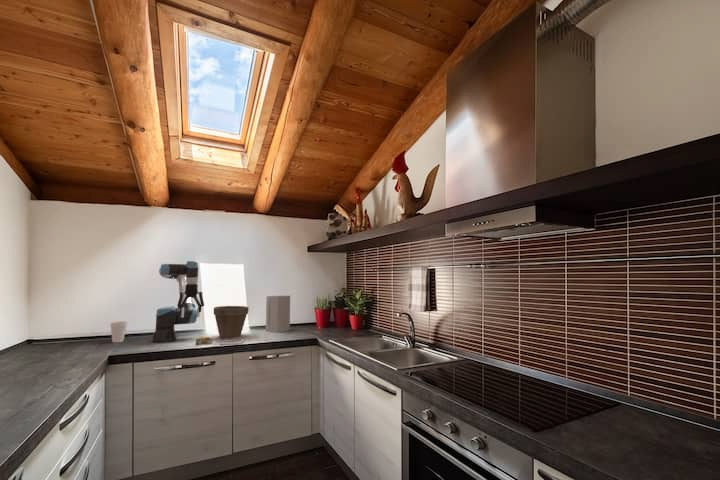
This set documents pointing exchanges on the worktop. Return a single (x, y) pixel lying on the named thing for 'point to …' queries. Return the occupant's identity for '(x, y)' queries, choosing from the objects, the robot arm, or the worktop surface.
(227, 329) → the plant pot
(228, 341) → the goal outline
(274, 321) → the grey faceted cylinder
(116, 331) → the foam cup
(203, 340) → the t block
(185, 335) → the worktop surface
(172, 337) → the robot arm
